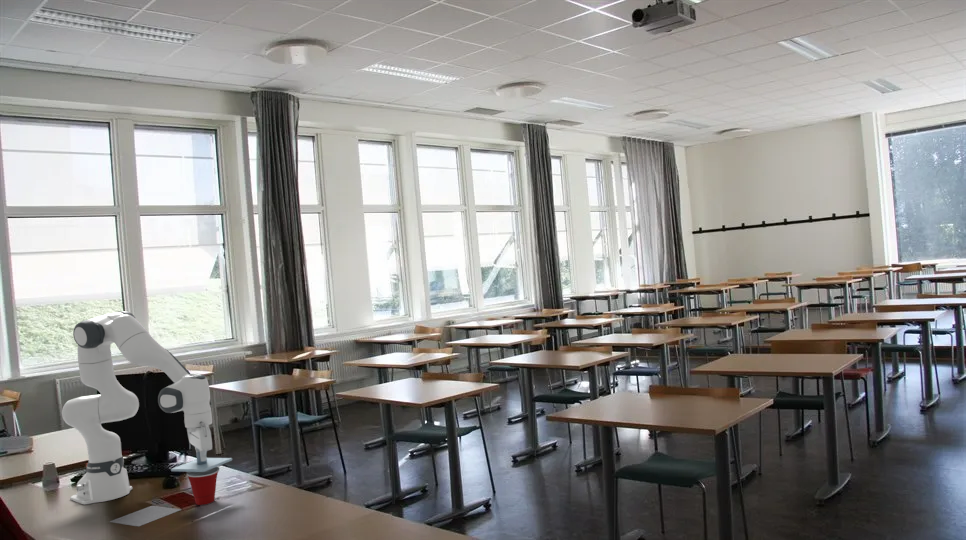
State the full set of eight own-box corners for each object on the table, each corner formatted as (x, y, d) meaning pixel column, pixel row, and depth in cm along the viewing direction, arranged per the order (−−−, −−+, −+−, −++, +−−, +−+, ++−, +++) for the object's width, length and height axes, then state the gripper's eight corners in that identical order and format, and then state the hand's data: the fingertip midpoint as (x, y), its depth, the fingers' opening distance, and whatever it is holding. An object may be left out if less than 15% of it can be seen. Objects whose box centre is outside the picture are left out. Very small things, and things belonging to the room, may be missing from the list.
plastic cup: (199, 511, 232) (196, 475, 232) (182, 507, 238) (179, 472, 239) (228, 501, 241) (225, 466, 241) (211, 497, 247) (208, 464, 247)
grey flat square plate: (108, 523, 227) (108, 521, 227) (152, 507, 241) (152, 505, 241) (138, 528, 220) (138, 526, 220) (182, 511, 234) (182, 509, 234)
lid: (171, 471, 236) (170, 457, 236) (201, 459, 249) (200, 446, 249) (203, 471, 231) (202, 457, 231) (232, 460, 244) (231, 446, 244)
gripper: (215, 422, 233) (218, 462, 233) (201, 415, 250) (204, 453, 250) (195, 425, 230) (198, 467, 229) (183, 418, 246) (186, 457, 246)
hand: (201, 459), depth 240 cm, fingers closed on lid, 3 cm apart
